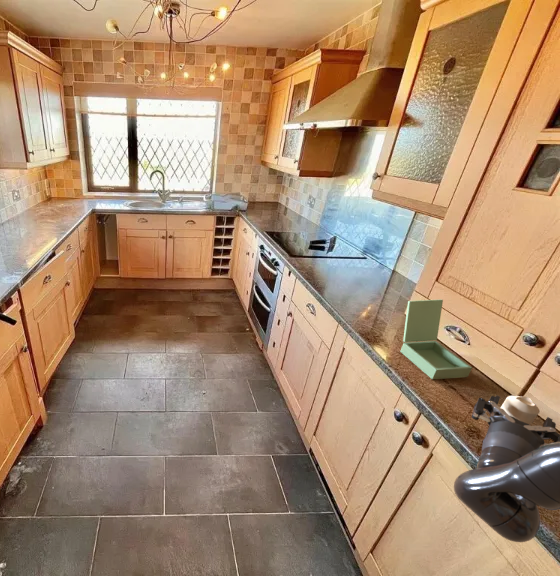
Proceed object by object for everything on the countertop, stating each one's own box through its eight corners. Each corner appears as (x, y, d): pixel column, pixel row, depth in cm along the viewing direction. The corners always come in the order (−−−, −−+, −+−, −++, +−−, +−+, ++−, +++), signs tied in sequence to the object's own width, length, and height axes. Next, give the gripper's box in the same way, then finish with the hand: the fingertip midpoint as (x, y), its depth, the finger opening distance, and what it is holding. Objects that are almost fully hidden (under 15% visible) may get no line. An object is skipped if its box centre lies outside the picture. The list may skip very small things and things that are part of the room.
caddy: (467, 377, 93) (472, 367, 92) (432, 379, 93) (436, 369, 91) (431, 349, 105) (435, 340, 103) (400, 351, 105) (403, 342, 103)
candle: (499, 417, 80) (517, 388, 76) (526, 434, 75) (548, 405, 71) (486, 423, 78) (504, 395, 74) (513, 441, 74) (535, 412, 69)
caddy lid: (443, 299, 100) (431, 296, 104) (409, 301, 100) (399, 298, 104) (437, 340, 103) (426, 335, 107) (404, 342, 102) (394, 337, 107)
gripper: (572, 463, 57) (576, 416, 66) (472, 414, 67) (487, 380, 76) (550, 487, 60) (557, 440, 69) (458, 438, 70) (475, 402, 79)
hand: (521, 409), depth 73 cm, fingers open, 8 cm apart
